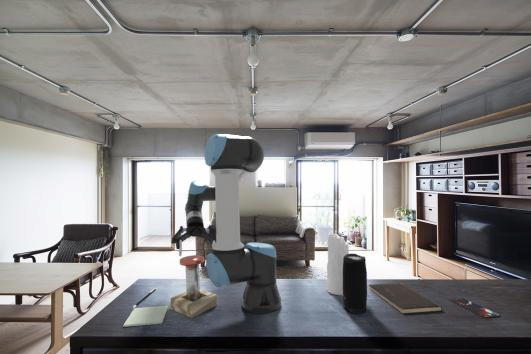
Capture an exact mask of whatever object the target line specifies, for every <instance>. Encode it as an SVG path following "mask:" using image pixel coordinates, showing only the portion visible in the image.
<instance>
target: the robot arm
mask: <svg viewBox="0 0 531 354" xmlns="http://www.w3.org/2000/svg"><path fill="white" fill-rule="evenodd" d="M264 160H265V153H264V148H263V146H262V144H261V143H260V142H259V141H258V140H257V139H255V138H253V137H251V136H241V135H235V134H227V133H222V134H221V133H219V134H218V133H216V134H215V133H214V134H212V135H211V136H210V138H209V139H208V140H207V143H206V146H205V151H204V161H205V165H206V166H208V167H210V172H211V173H212V174H213V175H214V180H215V181H214V183H215V184H214V185H207V184H206V182H204V181H202V180H193V181H192V182H190V184H189V188H188V194H187V201H186V203H185V206H184V212H185V220H186V221H185V222H186V224H185V225H186V227H183V225H181V226H179V229H178V230H177V231H176V232H175V234H174V235H172V237H171V244H172V245H174V244H175V249H176V250H178V256H179V257H182V253H183V242H184V241H186V240H187V239H189V238H191V237H193V238H194V237H196V238H197V237H198V238H199V237H200V238H201V239H205V240H206V241H207V242H208V243H211V246H212V247H211V251H212V252H210V253H209V254H207V255H206V258H205V265H206V271H207V274H208V277H209V280H210V282H211V283H212V285H213V286H215V287H217V288H222V287H229V286H232V285H236V284H237V285H238V284H242V283H246V284H245V285H246V286H245V287H244V291H243V293H242V297H241V306H242V308H243V309H244V310H245V311H247V312H249V313H252V314H269V313H272V312H276V311H277V310H279V309H280V308H281V306H282V297H281V295H280V291H279V288H278V285H277V259H278V257H277V250H276V247H275V246H274V245H272V244H270V243H264V242H247V243H246V245H245V244H244V243H243V242H241V225H240V223H241V222H240V221H241V218H240V184H242V182H244V181H245V180H246V178H247V177H248V176H249V175H251V173H255V172H257V171H258V170H259V168H260V167H261V166H262V165H263V162H264ZM212 201H215V231H214V230H213V229H212V227H211V226H208V228H206V227H205V223H204V218H203V213H202V209H203V204H204V202H212Z"/></svg>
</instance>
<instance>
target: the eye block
mask: <svg viewBox="0 0 531 354" xmlns="http://www.w3.org/2000/svg"><path fill="white" fill-rule="evenodd" d="M217 297H218V295H217V294H215V293H213V292H210V291H207V290H204V289H201V288H200V299H198V300H196V301H194V302H192V301H189V300H187V294H186V291H184V292H182V293H180V294H177V295H175V296H173V297H171V298H170V310H172V311H174V312H176V313H180V314H181V315H183V316H186V317H189V318H191V319H194V318H195V317H196V316H198V315H200V314H203V313H204V312H206V311H208V310H210V309H212V308H214V307H216V306H217V305H218V304H217V303H218V299H217Z"/></svg>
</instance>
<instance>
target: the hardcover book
mask: <svg viewBox="0 0 531 354" xmlns="http://www.w3.org/2000/svg"><path fill="white" fill-rule="evenodd" d="M368 286H369V290H371V291H372V292H373V293H374V294H376V295H378V296H379V297H380V298H381V299H383V300H384V301H385V302H387V303H388V304H389V305H391V306H392V307H393V308H395V309H396V310H397V311H399V312H400V313H401V314H410V313H423V312H436V311H437V312H438V311H439V312H440V311H442V310H443V307H442V305H440V304H438V303H436V302H435V301H433V300H431V299H430V298H428V297H426V296H424V295H423V294H421V293H419V292H417V291H415V290H414V289H413V288H410V287H409V286H407V285H406V284H403V283H402V282H394V283H379V284H378V283H375V284H374V283H373V284H368Z"/></svg>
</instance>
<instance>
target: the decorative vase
mask: <svg viewBox="0 0 531 354" xmlns="http://www.w3.org/2000/svg"><path fill="white" fill-rule="evenodd" d="M349 252H350V250H349V244H348V243H347V241H346V240H345V238H344V236H340V235H339V234H338V233H332V232H330V233H328V235H327V264H326V280H325V290H326V292H328V293H329V294H332V295H337V296H343V258H344V256H345V255H347V254H350V253H349Z"/></svg>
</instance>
